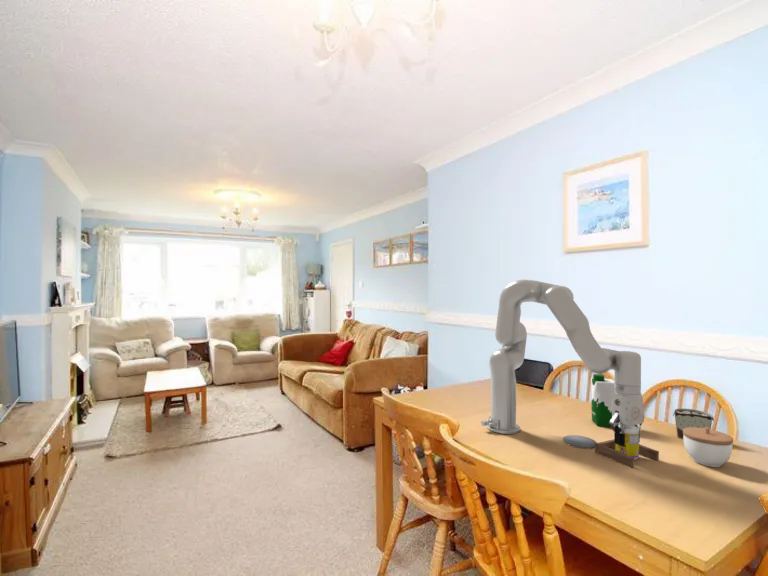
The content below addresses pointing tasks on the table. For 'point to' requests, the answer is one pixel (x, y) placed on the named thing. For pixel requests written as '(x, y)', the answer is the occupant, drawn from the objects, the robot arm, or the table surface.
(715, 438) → the lidded bowl
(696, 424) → the food container
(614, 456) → the holder
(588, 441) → the mat
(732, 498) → the table surface
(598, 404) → the milk carton
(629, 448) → the supplement bottle
